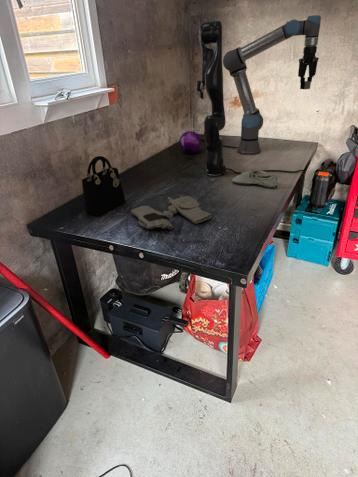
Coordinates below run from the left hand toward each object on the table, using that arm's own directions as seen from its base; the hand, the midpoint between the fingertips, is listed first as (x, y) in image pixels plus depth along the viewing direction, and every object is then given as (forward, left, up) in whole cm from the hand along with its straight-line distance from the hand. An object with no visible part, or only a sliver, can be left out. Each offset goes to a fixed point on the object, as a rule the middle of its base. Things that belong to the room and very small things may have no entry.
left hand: (208, 98), depth 203 cm
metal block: (-63, -6, +1) cm, 63 cm away
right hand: (-63, -6, +1) cm, 63 cm away
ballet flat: (-17, +55, -37) cm, 68 cm away
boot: (-6, -38, -37) cm, 54 cm away
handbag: (+60, +71, -37) cm, 100 cm away
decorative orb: (+11, -14, -37) cm, 41 cm away
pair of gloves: (+30, +86, -37) cm, 98 cm away
